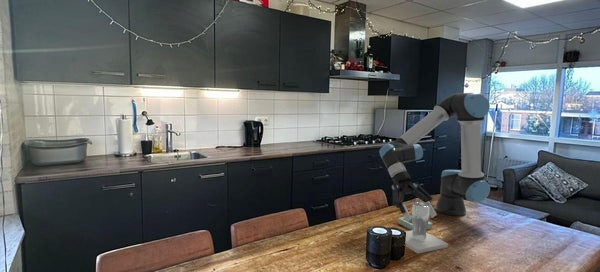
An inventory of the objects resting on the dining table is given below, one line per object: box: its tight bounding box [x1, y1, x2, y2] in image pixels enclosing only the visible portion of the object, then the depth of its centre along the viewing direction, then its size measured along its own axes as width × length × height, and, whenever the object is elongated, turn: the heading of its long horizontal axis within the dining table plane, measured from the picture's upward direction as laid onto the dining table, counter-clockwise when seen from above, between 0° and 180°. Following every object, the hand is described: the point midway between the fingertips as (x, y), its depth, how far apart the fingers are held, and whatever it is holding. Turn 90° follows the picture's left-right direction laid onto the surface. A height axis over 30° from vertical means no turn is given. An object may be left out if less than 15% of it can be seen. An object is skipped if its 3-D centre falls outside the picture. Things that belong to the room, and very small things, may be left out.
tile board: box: [405, 230, 449, 254], centre depth 134 cm, size 16×16×2 cm
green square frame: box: [397, 215, 433, 231], centre depth 152 cm, size 11×11×2 cm
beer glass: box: [411, 201, 430, 241], centre depth 133 cm, size 7×7×15 cm
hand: (422, 218), depth 132 cm, fingers open, 13 cm apart
